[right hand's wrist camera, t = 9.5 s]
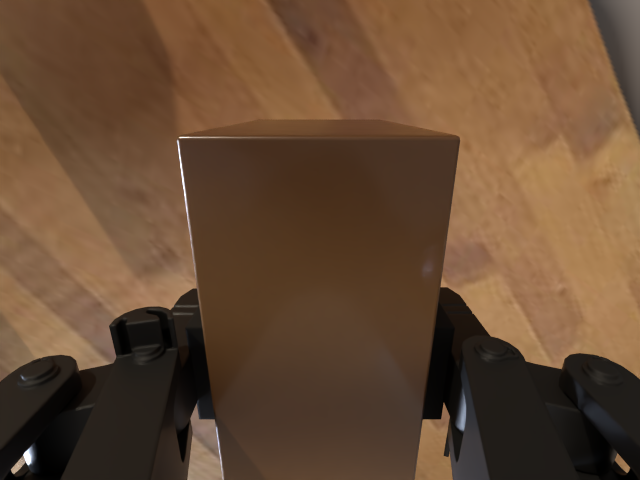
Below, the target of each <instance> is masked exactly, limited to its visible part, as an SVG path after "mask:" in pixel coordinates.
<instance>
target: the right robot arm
mask: <svg viewBox="0 0 640 480" xmlns="http://www.w3.org/2000/svg"><path fill="white" fill-rule="evenodd" d="M109 328H110V332H111V336H112V340H113V344H114V348H115V353H116V359H115V362H114V363H113V364H109V365H105V366H100V367H95V368H90V369H85V370H81V371H79V369H78V366H77V363H76V360H75V359H73V358H72V357H71V356H65V355H56V356H47V357H43V358H41V359H40V358H39V359H36V360H33V361H32V362H30V363H28V364H26V365H23V366H21V367H19V368H18V369H17V370H15V371H14V372H12V373H11V374H9V375H8V376H7V377H6V378H4V379H3V380H2V381H1V382H0V480H187V476H188V467H189V459H190V450H191V441H192V426H191V420H190V418H191V415H192V413H193V410H194V408H195V406H196V403H197V408H198V414H199V419H215V417H214V409H213V402H212V394H211V387H210V380H209V372H208V365H207V358H206V350H205V343H204V336H203V328H202V321H201V314H200V306H199V299H198V292H197V289H192V290H190V291H189V292H187V293H185V294H184V295H182V296H181V297H180V298H179V300H178V301H177V302H176V304H175V305H174V307H173V308H172V309H171V310H169V309H167V308H163V307H145V308H140V309H135V310H133V311H130V312H127V313H125V314H123V315H121V316H120V317H118V318H116V319H115V320H114V321H113V322H112V323H111V324H110V325H109ZM443 403H445V406H446V408H447V410H448V413H449V415H450V420H449V426H448V432H447V438H446V444H445V451H444V456H447V457H449V451H450V458H451V467H452V475H453V480H640V379H639V378H637V377H636V376H635V375H634V374H633V373H631V372H630V371H628V370H627V369H625V368H624V367H622V366H621V365H619V364H617V363H614V362H612V361H610V360H609V359H606V358H603V357H599V356H596V355H590V354H581V353H579V354H572V355H569V356H568V357H567V358H565V360H564V364H563V367H562V369H558V368H553V367H548V366H543V365H538V364H533V363H530V362H526V361H525V359H524V357H523V355H522V354H521V353H520V351H519V350H518V349H517V348H515V347H514V346H512V345H511V344H510V343H508V342H505V341H503V340H501V339H499V338H495V337H491V336H490V335H489V334H488V332H487V331H486V330H485V328H484V327H483V326H482V324H481V323H480V322H479V320H478V319H477V318H476V316H475V315H474V314H472V311H471V310H470V308H469V307H468V306H466V303H465V302H464V301H463V299H462V298H461V297H460V295H458V294H457V293H455V292H454V291H452V290H451V289H449V288H447V287H440V293H439V301H438V308H437V316H436V323H435V330H434V338H433V345H432V353H431V360H430V368H429V375H428V382H427V390H426V397H425V405H424V412H423V419H441V416H442V409H443ZM617 453H618V454H619V455H620V456H621V457H622V459H623V460H624V461H625V462H626V463H627V464H628V465H629V467H630V470H629V472H628V473H626V472H625V471H624V470H623V469H622V468H621V467H620V466H619V465H618V464H617V463H616V461H615V458H616V455H617ZM23 455H24V457H25V460H26V463H25V464H24V465H23V466H22V467H21V469H20V470H18V471H17V472H16V473H15V474H13V473H12V472H11V469H12V467H13V466H14V465H15V464H16V463H17V462H18V460H19V459H20V458H21V457H22V456H23Z"/></svg>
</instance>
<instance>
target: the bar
mask: <svg viewBox="0 0 640 480" xmlns="http://www.w3.org/2000/svg"><path fill="white" fill-rule="evenodd" d="M459 144H460V138H459V137H458V136H456V135H452V134H447V133H442V132H437V131H432V130H427V129H422V128H417V127H413V126H408V125H403V124H398V123H393V122H388V121H383V120H255V121H250V122H245V123H240V124H235V125H230V126H225V127H220V128H215V129H210V130H205V131H199V132H194V133H189V134H184V135H180V136H178V137H177V145H178V152H179V159H180V167H181V174H182V181H183V189H184V196H185V203H186V211H187V218H188V225H189V233H190V240H191V247H192V255H193V262H194V270H195V277H196V284H197V292H198V299H199V306H200V314H201V321H202V328H203V336H204V343H205V350H206V358H207V365H208V372H209V380H210V387H211V394H212V402H213V409H214V417H215V424H216V431H217V439H218V446H219V453H220V461H221V468H222V475H223V480H414V479H415V472H416V464H417V457H418V449H419V442H420V435H421V427H422V420H423V412H424V405H425V397H426V390H427V382H428V375H429V368H430V360H431V353H432V345H433V338H434V330H435V323H436V316H437V308H438V301H439V293H440V286H441V278H442V271H443V263H444V256H445V249H446V241H447V234H448V226H449V219H450V211H451V204H452V197H453V189H454V182H455V174H456V167H457V159H458V152H459Z"/></svg>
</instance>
